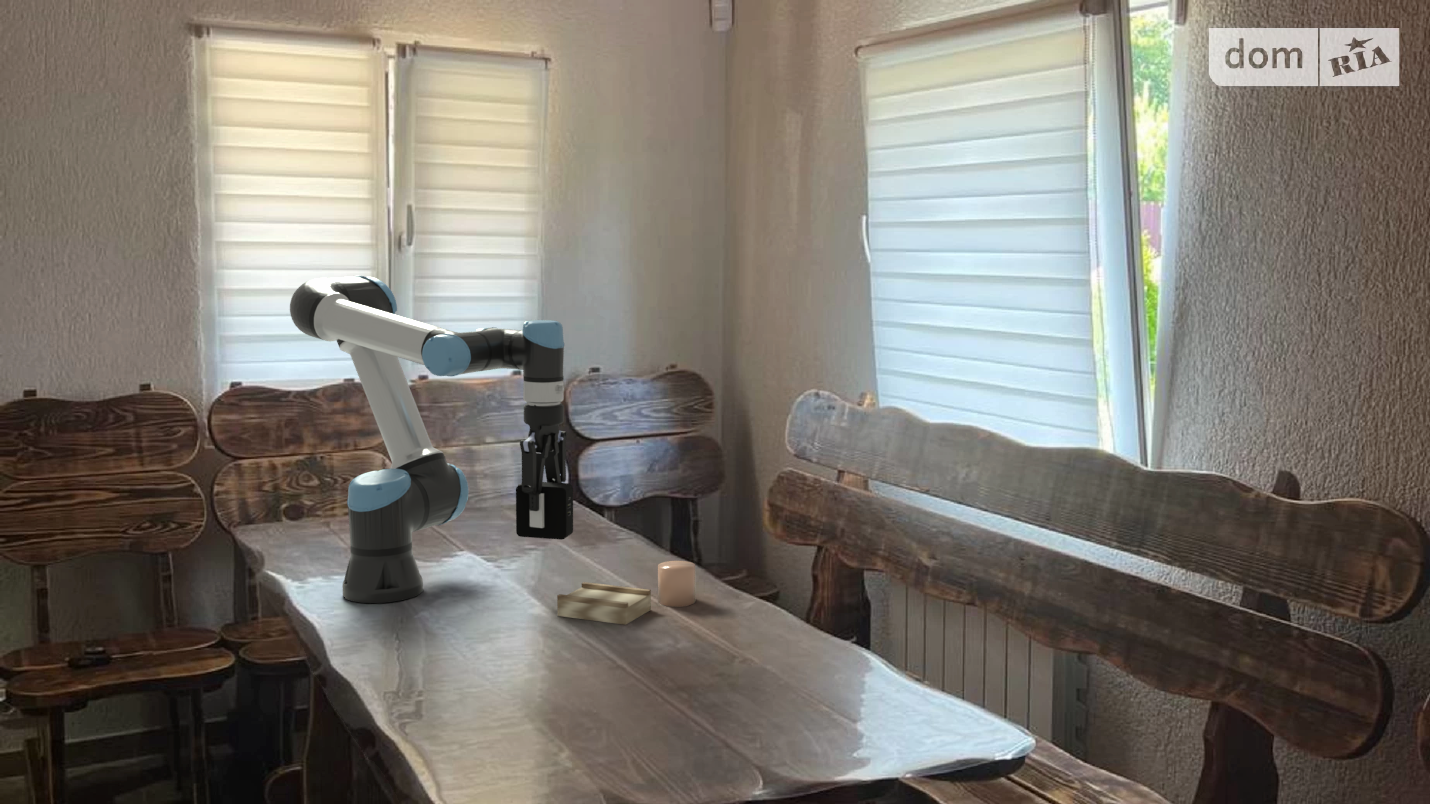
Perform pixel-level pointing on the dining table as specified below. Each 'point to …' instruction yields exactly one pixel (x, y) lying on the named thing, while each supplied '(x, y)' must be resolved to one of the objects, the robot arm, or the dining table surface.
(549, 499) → the electronic device
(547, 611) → the dining table surface
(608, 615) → the stand
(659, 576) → the peach rounded cylinder
